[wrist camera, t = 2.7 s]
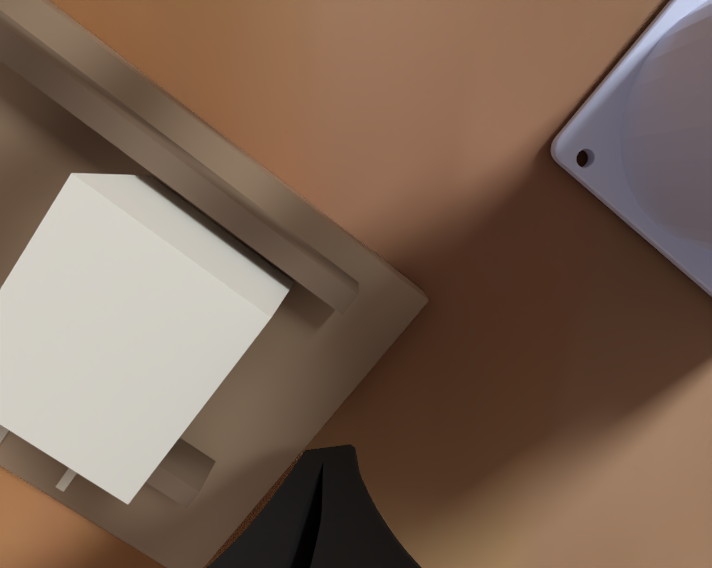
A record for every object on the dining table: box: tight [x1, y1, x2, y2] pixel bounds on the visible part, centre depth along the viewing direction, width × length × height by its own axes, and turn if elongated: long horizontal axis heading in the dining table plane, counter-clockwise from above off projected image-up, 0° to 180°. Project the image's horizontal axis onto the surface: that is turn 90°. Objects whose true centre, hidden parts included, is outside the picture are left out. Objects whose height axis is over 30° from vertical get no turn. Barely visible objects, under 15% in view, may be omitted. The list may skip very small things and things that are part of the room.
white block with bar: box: [0, 173, 294, 504], centre depth 12 cm, size 5×10×4 cm, turn 142°
